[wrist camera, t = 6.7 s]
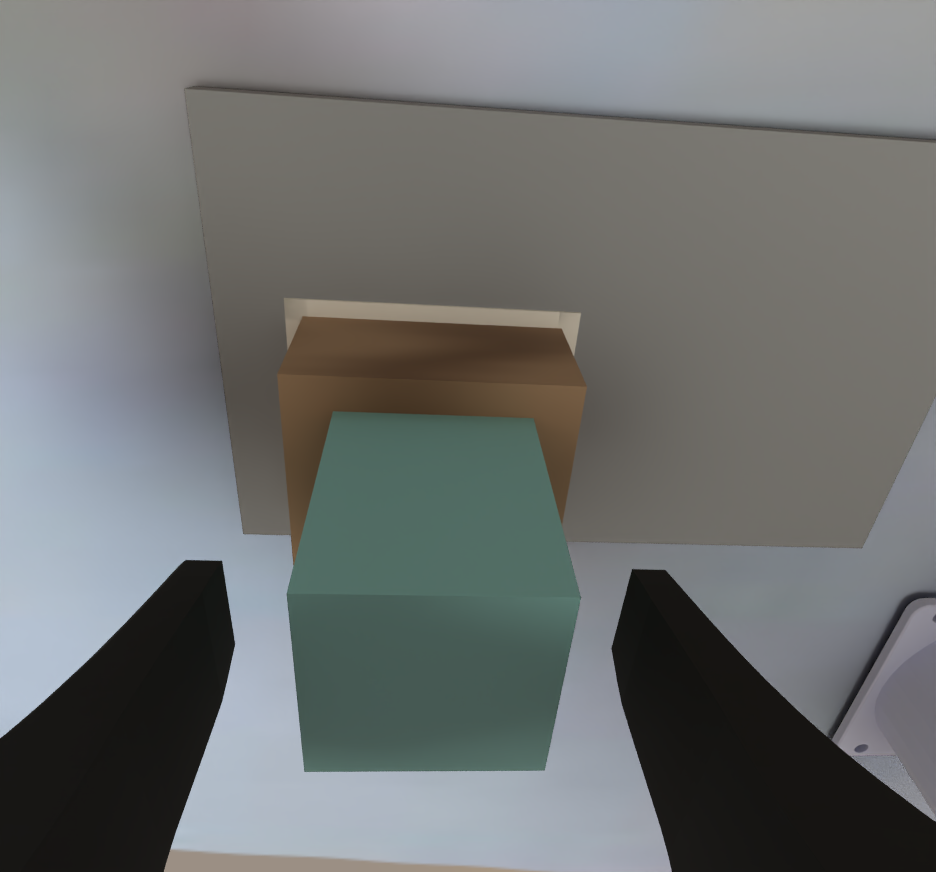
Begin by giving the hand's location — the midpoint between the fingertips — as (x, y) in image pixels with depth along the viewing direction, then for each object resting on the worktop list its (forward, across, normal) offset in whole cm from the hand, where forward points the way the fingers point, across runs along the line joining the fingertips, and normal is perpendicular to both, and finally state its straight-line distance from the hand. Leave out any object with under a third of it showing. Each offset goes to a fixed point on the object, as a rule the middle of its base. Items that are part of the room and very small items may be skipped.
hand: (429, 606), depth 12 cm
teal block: (+3, 0, 0) cm, 3 cm away
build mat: (+7, -4, -2) cm, 8 cm away
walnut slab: (+6, 0, 0) cm, 6 cm away
